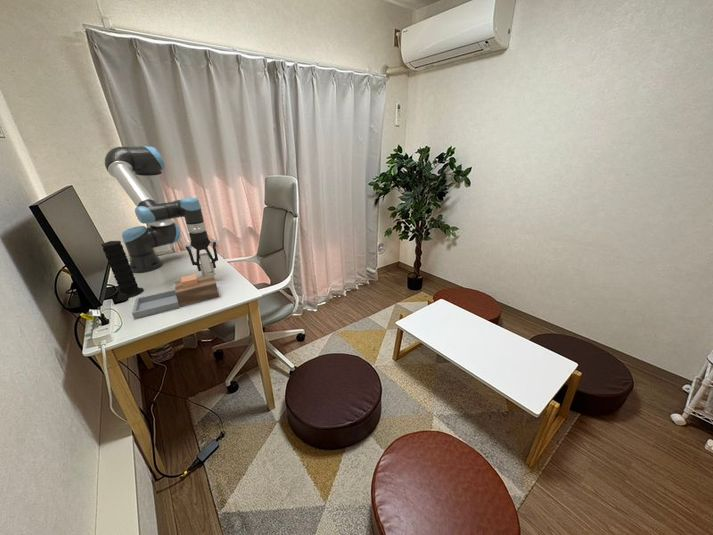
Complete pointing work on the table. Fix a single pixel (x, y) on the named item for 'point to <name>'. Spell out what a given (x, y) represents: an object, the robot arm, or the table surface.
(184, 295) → the walnut ledge
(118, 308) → the table surface
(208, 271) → the tube
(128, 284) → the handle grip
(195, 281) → the terracotta tile
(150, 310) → the box
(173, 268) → the table surface
